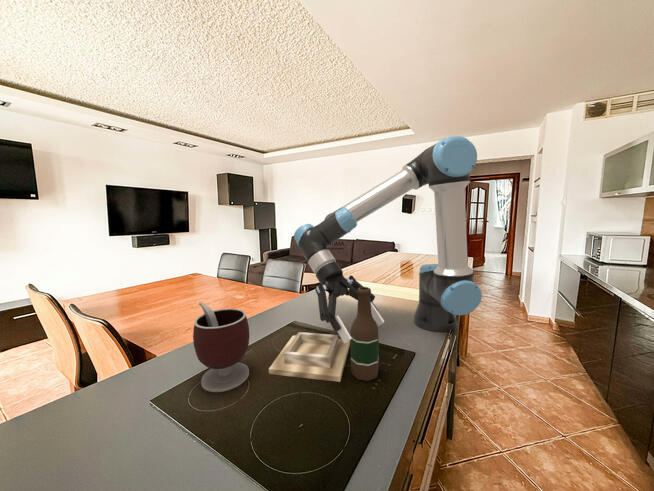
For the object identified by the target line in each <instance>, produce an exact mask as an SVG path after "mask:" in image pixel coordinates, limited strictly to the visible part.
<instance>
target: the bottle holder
mask: <svg viewBox="0 0 654 491" xmlns="http://www.w3.org/2000/svg"><path fill="white" fill-rule="evenodd" d="M349 350H350V340H349V341H348V342H347V343H345V344H344V343H343V341H342V339H341V338H339V334H329V333H328V334H327V333H317V332H316V333H315V332H305V331H304V332H302V331H299V332H297V334H296V335H292V336H291V337H290V339H289V340H288V342H287V343H286V344H285V345H284V347H283V348H282V350H281V351H280V353H279V354H278V355H277V357H276V358H275V359H274V361H273V362H272V364H271V365H270V366H269V367H268V374H269V375H276V376H284V377H293V378H302V379H311V380H319V381H329V382H338V383H341V381H342V378H343V377H342V376H343V373H344V369H345V366H346V362H347V357H348V354H349Z"/></svg>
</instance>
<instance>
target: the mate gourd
mask: <svg viewBox="0 0 654 491" xmlns="http://www.w3.org/2000/svg"><path fill="white" fill-rule="evenodd" d="M198 305H199V306H200V307H201V309H202V311H203V314H202V315H200V316H198V317H196V319H194V322H193V324H194V325H193V331H192V332H193V333H192V339H193V348H194V351H195V355H196V357H197V360H198V361H199V362H200V363H201V364H203V365H204V366H205V367H206V368H208V369H209V370H207V371H206V372H205V373H204V374H203V375H202V377H201V380H200V384H201V388H202V389H204V390H205V391H208V392H211V393H221V392H227V391H230V390H232V389H235V388H237V387H239V386H241V385H242V384H243V383H244V382H245V381H246V380H247V379H248V377H249V375H250V368H249V366H248V365H247V364H245V363H244V362H243V363H242V362H240V361H242V359H243V357H244V356H245V354H246V353H247V352H248V349H249V345H250V325H249V321H248V317H247V314H246V311H244V310H243V309H239V308H221V309H216V310H212V308H210V307H209V306H208V305H206V304H205V303H204V302H200V301H199V303H198Z"/></svg>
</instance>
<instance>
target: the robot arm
mask: <svg viewBox="0 0 654 491" xmlns="http://www.w3.org/2000/svg"><path fill="white" fill-rule="evenodd" d="M477 161H478V153H477V149H476V147H475V145H474V143H473V142H472V141H470V140H469V139H468V138H466V137H464V136H461V135H453V136H448V137H446V138H445V137H444V138H443V139H441V140H439V141H438V142H437V143H434V144H432V145H431V146H428V147H427V148H425V150H423V151H422V152H420V153H419V154H418V155H417V156H416V157H414V159H412V160H411V161H409V162H408V163H406V164H404V165H403V166H402V168H401V170H399V172H397V173H395V174H394V175H392V176H390V177H389V178H387V179H385V180H383V181H382V182H380V183H379V184H377V185H376V186H374V187H372V188H370V189H369V190H367V191H366V192H364V193H363V194H361V195H359V196H357V197H355V198H354V199H352V200H351V201H349V202H347V203H346V204H344V205H343V206H341V207H340V208H338V209H336V210H335V211H333V212H330V213H329V214H326V216H325V217H324V220H322V221H321V222H320V223H318V224H317V225H315V226H314V225H313V224H311V223H306V224H303V225H300V226H299V227H298V228H297V229H296V230H295V231H294V234H293V239H294V240H295V242H296V245H297V247H298V249H299V250H300V252H301V253H302V255H303V257H304V258H305V260H306V261H307V263H308V265H309V267H310V268H311V270H312V272H313V273H314V275H315V277H316V279H317V280H318V282H319V284H318V285H317V286H316V288H315V290H314V291H315V293H316V295H317V300H318V301H317V302H318V310H319V319H320V321H321V322H326V323H327V324H330V326H331V327H332V328H333V331H334V332H335V333H338V334H337V335H338V337H339V338H340V339H342V341H343V343H344V344H345V343H347V342H348V341H349V340H350V339H352V338H351V336H350V333H349V331H348V330H347V328H346V326H345V325H344V322H343V321H342V319H341V317H340V316H339V315H336V308H337V300H338V298H339V297H340V296H341V297H342V296H344V295H345V296H347V297H351V298H353V299H355V300H356V301H358V293H357V290H358V288H360V287H364V285H362V284H361V283H360V282H358V280H356V278H355V277H354V276H353V275H349V277H347V278H346V277H344V274H343V272H344V271H343V269H342V268H341V266H340V265H339V263H338V262H337V261H336V258H335V257H334V255H333V254H332V252H331V251H330V249H329V248H328V247H329V246H331V245H332V244H333V243H335V242H337V241H338V240H340V239H342V238H343V237H344V236H345V235H347V234H350V233H351V231H353V230H354V229H356V227H357V226H358V222H360V221H361V220H363V219H365V218H366V217H368V216H370V215H371V214H373V213H375V212H376V211H378V210H379V209H381V208H383V207H386V205H388V204H390V203H392V202H393V201H394V200H396V199H398V198H399V197H401V196H404V195H405V194H407V193H409V192H410V191H411V190H418V189H420V188H422V187H425V186H426V185H428V188H429V189H430V190H432V192H433V194H434V195H433V196H434V210H435V211H434V212H435V213H434V215H435V226H436V228H435V230H436V248H437V263H430V264H429V263H428V264H422V265H421V266H420V267H419V272H418V275H419V278H418V282H419V283H418V291H419V292H418V304H417V307H416V309H415V312H414V315H413V323H414V325H416V326H418V327H419V328H421V329H423V330H428V331H431V332H440V333H441V332H442V333H443V332H451V331H454V330H455V329H456V328H457V318H456V316H466V315H468V314H470V313H472V312H474V311H475V309H478V307H479V306H480V304H481V301H482V298H483V294H482V290H481V288H480V287H479V285H478V284H477V283H476V282H475V277H474V274H475V272H474V269H473V268H471V267H470V266H469V264H468V241H467V239H468V238H467V219H466V218H467V214H466V194H465V193H466V188H467V186H469V184H470V183H471V172H472V170H473V169H474V168H475V167H476V165H477ZM327 293H328V298H327ZM375 299H376V296H375V294H373V293H372V292H371V293H370V300H371V313H372V317H373V319H374V320H375V321H376V323H377V326H378V327H380V326H381V325H383V324H384V323H385V320H384V319H383V317H382V316H381V314H380V312H379V309H378V308H377V307H376V304H374V302H373V301H375Z"/></svg>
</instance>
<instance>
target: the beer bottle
mask: <svg viewBox="0 0 654 491" xmlns="http://www.w3.org/2000/svg"><path fill="white" fill-rule="evenodd" d="M357 293H358V300H357V310H356V312H357V313H356V317H355V319H354V321H353V322H352V324H351V327H350V333H349V334H350V336H351V338H352V339H350V346H349V350H350V373H351V374H352V376H354V378H356V379H357V380H359V381H365V382H369V381H370V382H371V381H372V380H375V379H377V378H378V375H379V366H380V363H379V362H380V356H379V354H380V353H379V352H380V351H379V350H380V349H379V348H380V346H379V345H380V344H379V342H380V341H379V340H380V339H379V336H380V334H379V332H380V331H379V326H377V323H376V321H375V320H374V319H373V317H372V313H371V300H370V293H372V290H371V288H370V287H367V286H363V287H360V288H358V290H357Z"/></svg>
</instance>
